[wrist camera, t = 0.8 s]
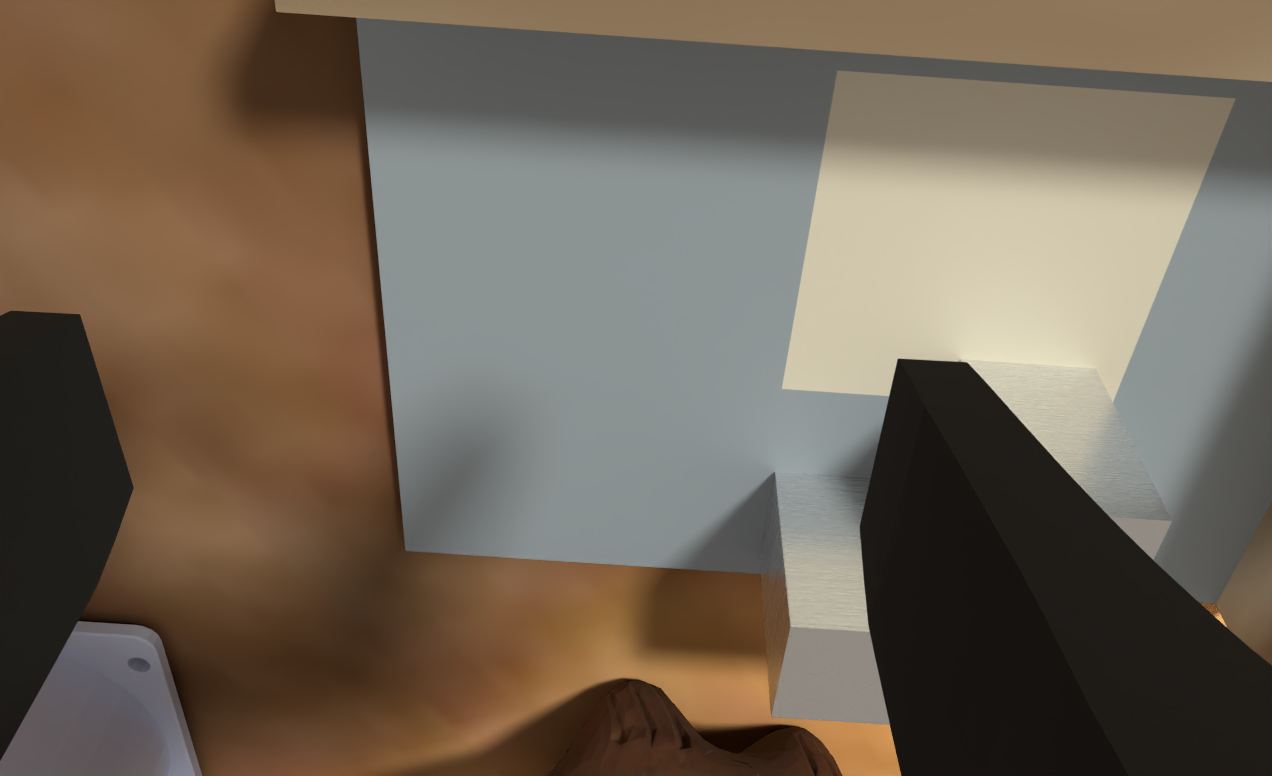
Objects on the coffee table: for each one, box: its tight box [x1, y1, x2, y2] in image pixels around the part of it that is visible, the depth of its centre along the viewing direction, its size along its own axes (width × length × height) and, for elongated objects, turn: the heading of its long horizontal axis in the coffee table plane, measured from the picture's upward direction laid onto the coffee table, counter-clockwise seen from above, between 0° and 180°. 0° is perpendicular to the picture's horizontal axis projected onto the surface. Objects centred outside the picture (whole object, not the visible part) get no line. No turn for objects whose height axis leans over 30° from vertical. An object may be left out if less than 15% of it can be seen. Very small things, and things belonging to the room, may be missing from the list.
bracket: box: [759, 359, 1172, 725], centre depth 21 cm, size 6×6×4 cm
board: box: [356, 18, 1272, 604], centre depth 20 cm, size 13×18×1 cm
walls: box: [275, 0, 1272, 665], centre depth 19 cm, size 14×18×4 cm
